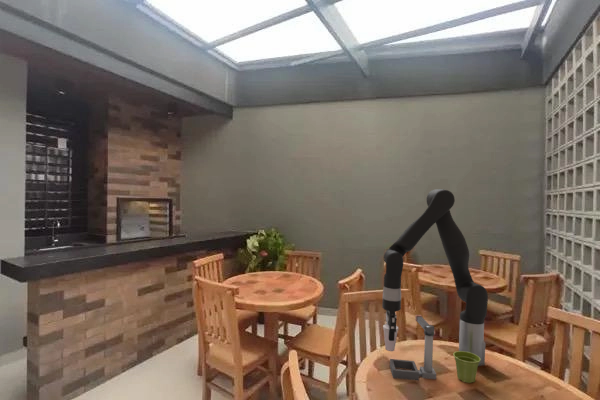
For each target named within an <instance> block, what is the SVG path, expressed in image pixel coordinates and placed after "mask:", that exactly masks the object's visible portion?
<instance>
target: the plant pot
mask: <svg viewBox="0 0 600 400" xmlns="http://www.w3.org/2000/svg"><path fill="white" fill-rule="evenodd" d="M452 355H453V358H454V360H455V366H456V367H455V368H456V376H457V378H458V380H460V381H462V382H464V383H468V384H471V383H475V382H476V379H477V378H476V377H477V373H478V367H479V366H478V364H479V362H480V360H481V359H480V357H479V356H477V355H475V354H473V353H470V352H465V351H459V350H457V351H454V352H453V353H452Z"/></svg>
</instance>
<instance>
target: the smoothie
mask: <svg viewBox="0 0 600 400" xmlns="http://www.w3.org/2000/svg"><path fill="white" fill-rule="evenodd" d="M382 329H383V336H384V337H383V339H384V347H385V350H386V351H388V352H394V351H396V350H395V349H396V348H395V347H396V344H397V342H396V341H397V336H398V332H399V326H397V325H396V332H395V336H394V341H389V326H388V325H387V324H386V323H385V324H383V326H382ZM391 329H394V327H393V326H392V327H391Z"/></svg>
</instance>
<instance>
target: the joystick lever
mask: <svg viewBox="0 0 600 400" xmlns="http://www.w3.org/2000/svg"><path fill="white" fill-rule="evenodd" d="M414 317H415V318H414V320H415V322H417V323H418V324H419V326H421V328H422V329H423V330H424V331H423V334H424V336H425V335H428V336H433V337H434V336H435V326H434V325H433V324H432V325H431V324H429V323H428V322H427V320H426V319H424V318H423V315H422V314H415V316H414Z"/></svg>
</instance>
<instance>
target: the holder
mask: <svg viewBox="0 0 600 400" xmlns="http://www.w3.org/2000/svg"><path fill="white" fill-rule="evenodd" d="M423 347H424V350H423V351H424V353H423V366H419V369H418V367H417V365H416V362H415V360H408V359H407V360H406V359H395V358H390V359H389V368H390V372H391V375H392V379H398V380H399V379H400V380H410V381H411V380H412V381H420V377H421V378H422V379H428V380H436V379H437V372H436V371H435V369H434V367H433V351H434V335H433V336H428V335H425V334H424V346H423Z"/></svg>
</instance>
